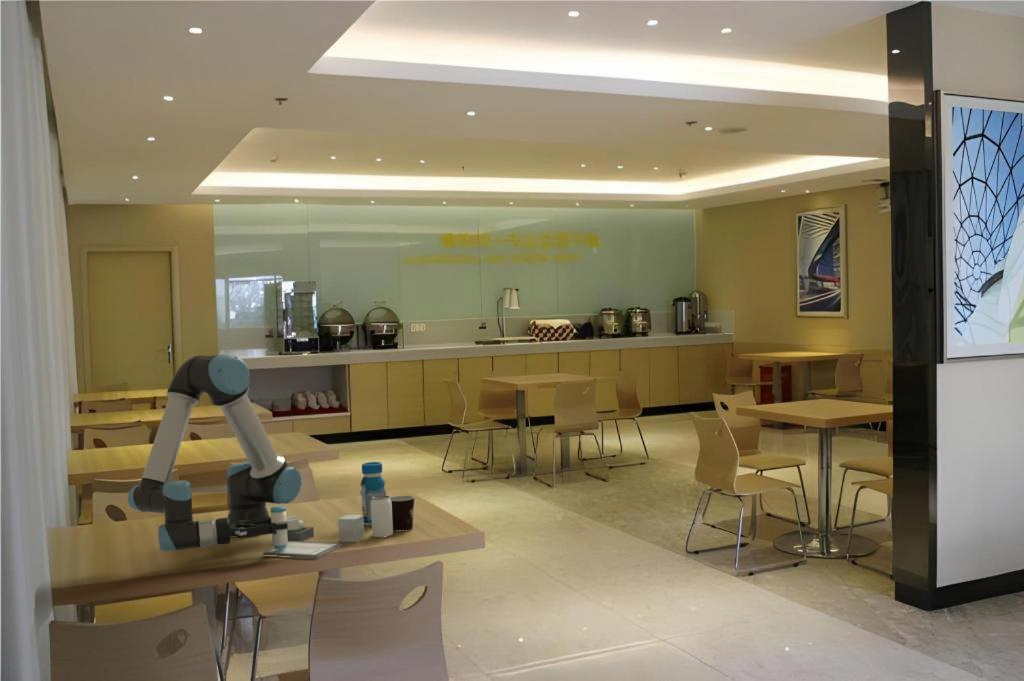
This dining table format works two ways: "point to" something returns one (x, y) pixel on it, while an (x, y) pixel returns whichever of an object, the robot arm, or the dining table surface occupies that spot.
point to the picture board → (305, 549)
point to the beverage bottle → (371, 487)
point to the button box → (301, 534)
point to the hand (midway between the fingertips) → (297, 522)
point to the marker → (281, 536)
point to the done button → (299, 527)
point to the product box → (351, 528)
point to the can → (381, 516)
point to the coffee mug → (402, 512)
